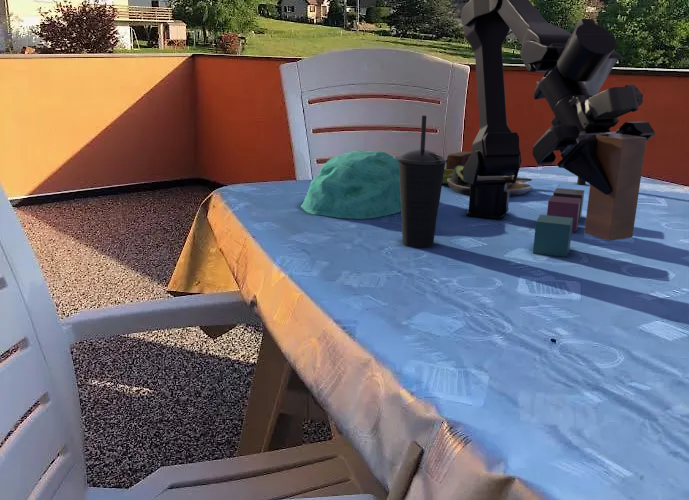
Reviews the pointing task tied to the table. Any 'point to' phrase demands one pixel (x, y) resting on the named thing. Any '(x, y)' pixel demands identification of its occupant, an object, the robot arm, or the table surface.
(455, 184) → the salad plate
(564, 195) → the cube far
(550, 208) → the cube mid
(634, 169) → the walnut block
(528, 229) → the table surface
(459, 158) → the brick
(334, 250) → the table surface
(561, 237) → the cube near
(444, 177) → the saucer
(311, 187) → the decorative stone
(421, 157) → the drinking cup
